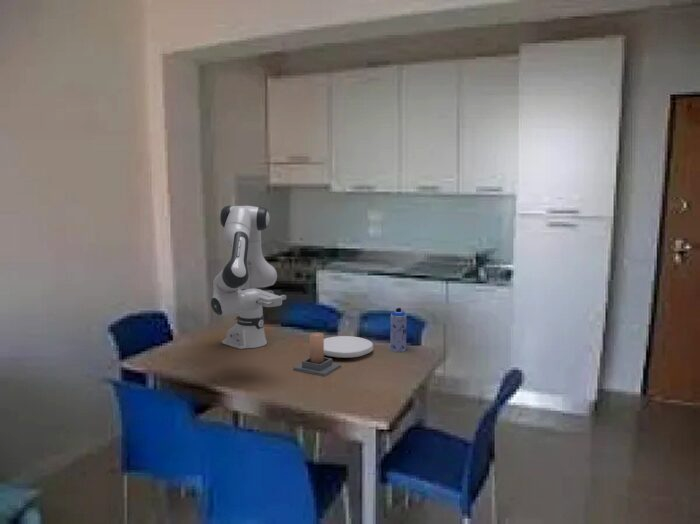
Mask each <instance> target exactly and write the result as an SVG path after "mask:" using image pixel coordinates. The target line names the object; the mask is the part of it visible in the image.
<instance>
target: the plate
mask: <svg viewBox="0 0 700 524" xmlns="http://www.w3.org/2000/svg"><path fill="white" fill-rule="evenodd" d="M373 350H374V343H373V342H372V341H370V340H369V339H366V338H364V337H358V336H352V335H341V336H339V335H338V336H331V337H330V336H329V337H326V338H324V356H327V357H333V358H342V359H343V358H345V359H347V358H351V359H352V358H358V357H362V356H365V355H367V354H369V353H371V352H373Z"/></svg>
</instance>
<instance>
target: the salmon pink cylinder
mask: <svg viewBox="0 0 700 524" xmlns="http://www.w3.org/2000/svg"><path fill="white" fill-rule="evenodd" d="M324 339H325V338H324V333H323V332H320V331H319V332H311V333H309V358H310V362H311V363H316V364H321V363H323V362H324V357H325V355H324Z"/></svg>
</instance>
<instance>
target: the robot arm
mask: <svg viewBox="0 0 700 524" xmlns="http://www.w3.org/2000/svg"><path fill="white" fill-rule="evenodd" d="M270 219H271V218H270V213H269V211H268V209H267V208H265V207H263V206H259V207H258V206H254V205H226V206H224V207H223V208H222V209H221V211H220V213H219V221H220V225H221V226H222V228H223V232H222V241H223V243H224V244H225V245H226V247H228V248H230V249H231V253H230V260H229V261H228V263H227V264H225V266H224V268H223V269H222V270H220V272H219V273H218V274H217V275H216V276H215V277H214V278H213V279H212V283H211V284H212V290H213V293H212V297H211V300H210V306H211V308H212V310H213V312H214V313H215V314H217V315H218V316H232V315H237V314H239V315H238V316H236V317H235V319H234V320H235V321H237V322H236V323H235V324H234V325H233V326H231V327H230V328H229V329H228V330H227V333H226V337H225V338H224V339H222V341H221V344H224V345H226V346H230V347H232V348H236V349H239V350H244V349H255V348H260V347H264V346H266V345H267V344H268V342H267V338H266V334H265V328H264V325H265V318H264V317H265V316H264V313H263V312H264V311H263V309H264V308H263V307H265V308H273V307H281V306H282V305H283V300H284V301H285V300H287V295H286V294H281V295H278V294H275V292H274V291H273V290H262V289H261V288H268V287H271V286H274V284H276V282H277V278H278V273H277V270H276V268H275V267H274V266H273V265H272V264H270V263H269V262H268V261H267V260H266V259H265V257H264V254H263V249H262V232H261V231H264V230H265V229H267V228H268V227H269V226H268V225H269V224H270V221H271V220H270ZM247 262H249V263H250V264H249V265H248V263H247Z"/></svg>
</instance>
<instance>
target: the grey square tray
mask: <svg viewBox="0 0 700 524" xmlns="http://www.w3.org/2000/svg"><path fill="white" fill-rule="evenodd" d="M340 368H342V364H340V363H335V362H333V358H331V357H330V358H329V357H325V356H324V362H323V363H321V364H316V363H311V362H310V357H307V358H305V359H304V360H302V361H301V362H300V363H299V364H297V365H295V366H293V367H292V369H293V371H297V372H302V373H307V374H312V375H315V376H321V377H327V376H329V375H330V374H331V373H333V372H335V371H337V370H339V369H340Z"/></svg>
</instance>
